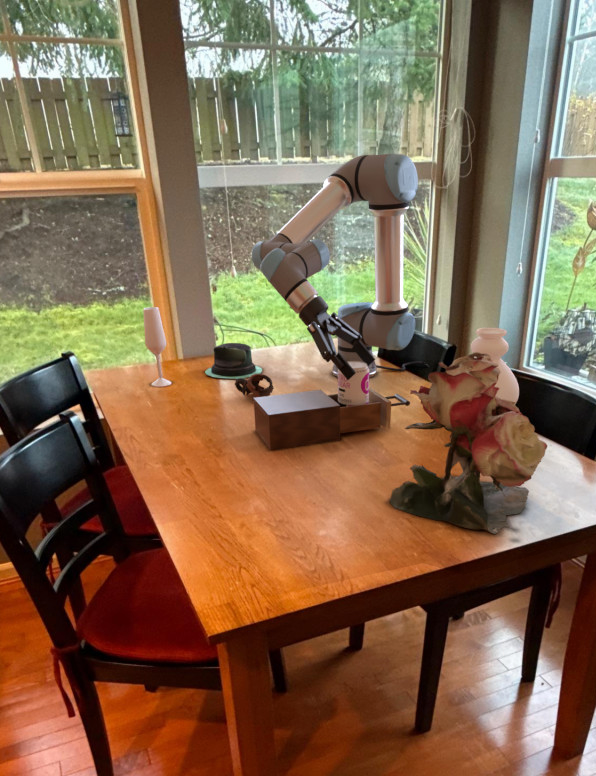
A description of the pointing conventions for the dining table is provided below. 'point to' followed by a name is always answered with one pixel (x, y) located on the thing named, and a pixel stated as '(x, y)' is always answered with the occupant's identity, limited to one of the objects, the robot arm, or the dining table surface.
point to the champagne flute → (155, 339)
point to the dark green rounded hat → (233, 362)
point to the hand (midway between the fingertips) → (362, 369)
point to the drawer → (368, 412)
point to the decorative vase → (497, 360)
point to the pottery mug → (254, 386)
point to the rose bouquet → (473, 450)
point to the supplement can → (354, 386)
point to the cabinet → (297, 419)
